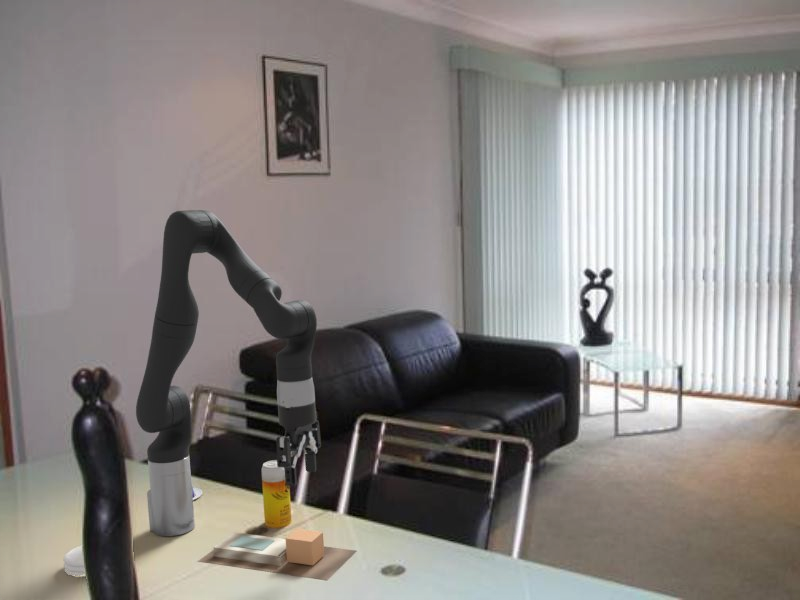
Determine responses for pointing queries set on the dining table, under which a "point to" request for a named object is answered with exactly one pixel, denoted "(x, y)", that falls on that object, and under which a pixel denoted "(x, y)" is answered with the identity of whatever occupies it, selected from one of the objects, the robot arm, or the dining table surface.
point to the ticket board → (293, 568)
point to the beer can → (275, 495)
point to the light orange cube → (304, 547)
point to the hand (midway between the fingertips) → (301, 478)
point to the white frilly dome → (74, 562)
